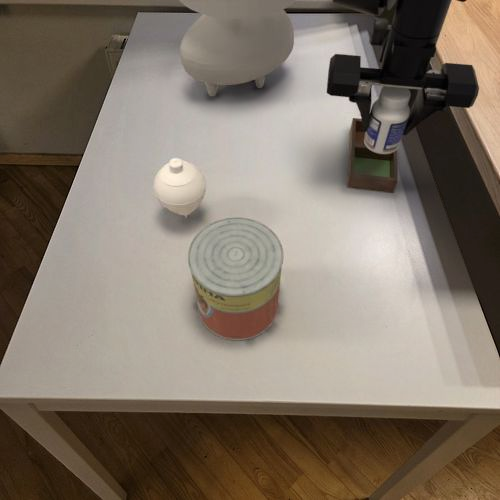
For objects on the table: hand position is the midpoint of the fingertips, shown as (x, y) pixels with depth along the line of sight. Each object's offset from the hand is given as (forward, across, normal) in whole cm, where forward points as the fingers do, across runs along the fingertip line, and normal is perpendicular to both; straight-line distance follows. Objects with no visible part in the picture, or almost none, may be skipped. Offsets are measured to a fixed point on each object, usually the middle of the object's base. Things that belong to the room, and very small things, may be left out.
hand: (384, 131), depth 66 cm
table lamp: (+12, +26, -25) cm, 38 cm away
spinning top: (+12, +29, +11) cm, 33 cm away
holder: (+12, 0, -7) cm, 14 cm away
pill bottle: (+2, 0, 0) cm, 2 cm away
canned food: (+12, +18, +25) cm, 33 cm away
